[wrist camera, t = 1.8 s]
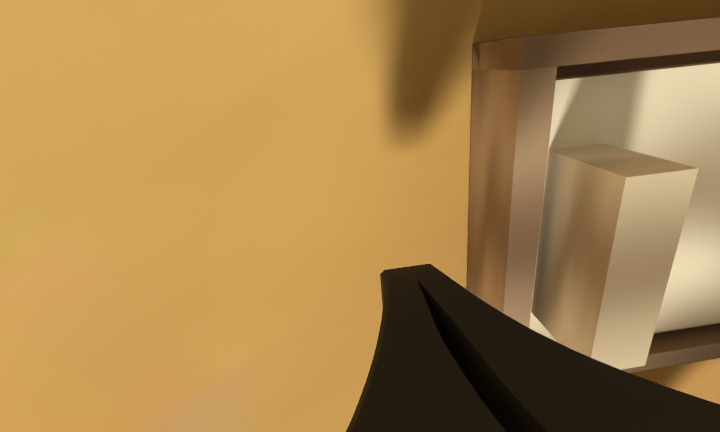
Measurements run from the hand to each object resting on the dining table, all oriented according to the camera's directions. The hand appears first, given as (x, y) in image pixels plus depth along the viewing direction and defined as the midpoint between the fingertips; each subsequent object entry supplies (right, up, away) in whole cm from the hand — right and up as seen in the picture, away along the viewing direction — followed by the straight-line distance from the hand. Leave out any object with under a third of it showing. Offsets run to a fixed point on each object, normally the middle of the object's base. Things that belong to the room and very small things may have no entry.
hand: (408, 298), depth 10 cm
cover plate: (+12, +3, +4) cm, 13 cm away
